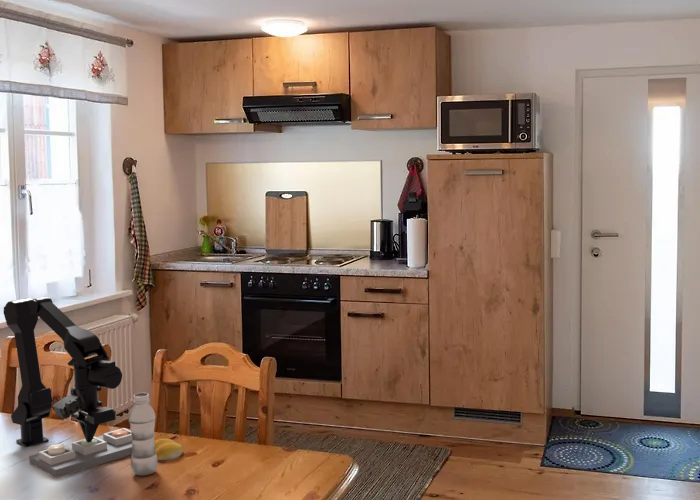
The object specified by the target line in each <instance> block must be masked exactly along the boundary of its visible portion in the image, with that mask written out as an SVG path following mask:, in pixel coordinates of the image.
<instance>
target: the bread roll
mask: <svg viewBox="0 0 700 500" xmlns="http://www.w3.org/2000/svg"><path fill="white" fill-rule="evenodd" d="M154 444H155V452H156V455H157V460H158V461H170V460H176V459H177V458H179V457H180V456H181V455H182V454H183V451H184V450H183V446H182V445H181V443H179V442H178V443H177V442H176V441H174V440H173V439H170V438H160V439H156V440H154Z"/></svg>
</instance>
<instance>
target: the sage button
mask: <svg viewBox="0 0 700 500" xmlns="http://www.w3.org/2000/svg"><path fill="white" fill-rule="evenodd" d="M82 440H83V439H82ZM94 444H97V440H96V439H92V441H91V442H87V441H86V440H83V441H82V442H81V445H82V446H84V447H87V446H91V445H94Z"/></svg>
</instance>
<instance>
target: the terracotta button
mask: <svg viewBox="0 0 700 500" xmlns="http://www.w3.org/2000/svg"><path fill="white" fill-rule="evenodd" d="M114 431H115V430H114ZM125 435H128V432H127V431H124V430H120V431H115V432H113V433H112V436H113V437H115V438H119V437H122V436H125Z"/></svg>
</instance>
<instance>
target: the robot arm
mask: <svg viewBox="0 0 700 500" xmlns="http://www.w3.org/2000/svg"><path fill="white" fill-rule="evenodd" d="M3 317H4V319H5V322H6V325H7V327H8V328H9V329H10V330H11V331H12V333H13V334H14V340H15V347H16V351H17V352H16V354H17V358H18V360H17V361H18V365H19V372H20V379H21V388H20V390H19V393H18V395H17V406H16V408H15V409H14V411H13V412H12V413H11V414H10V418H11V421H12V424H16V425H20V427H19V428H20V438H18V439H16V440H15V442H16V443H18V444H20V445H22V446H24V447H25V448H27V447H31V446H32V447H33V446H35V445H39V444H42V443H47V442H49V441H50V440H49V438H47V437H46V436H44V427H43V425H44V424H43V419H46V418H49V417H50V416H51V415H50V414H51V410H52V408H53V410H54V412H55V415H56V416H57V417H59V418H62V420H66V419H68V418H70V417H71V418H72V419H75V420H76V421H77V422H78V423H79V425H80V429H81V431H82V433H83V436H84V439H86V441H87V442H91V441H92V439H93V437H95V434H96V432H97V430H98V427H99V426H100V424H101V425H102V424H105V423H108V422H112V421H116V419H117V412H116V410H115V409H113V408H111V407H108V406H103V401H100V400H99V391H102V388H105V389H110V390H114V389H116V388H118V387H119V385H120V384H121V383H122V381H123V380H122V379H123V373H122V370H121V369H120V368H119V367H118V366H116V361H114V360H109V359H110V358H109V356H108V353H107V351H106V350H105V348H104V347H103V344H102V343H101V339H99V337H98V336H97V335H96V334H95V333H93V332H92V331H91V330H88V329H86V328H83V327H80V326H78V325H77V324H75V323H74V322H73V321H72V320H71V319H70V318H69V316H67V315H66V314H65V313H64V312H63V311H62V310H61V309H60V308H59V307H58V306H56V304H54V302H53V301H52V298H51V297H49V296H48V297H47V296H41V297H36V298H31V297H26V298H21V299H16V300H11V301H8V302H7V303H6V304H5V306H4V307H3ZM39 318H40V319H41V320H42V322H44V323H45V324H46V325H47V326H48V327H49V328H50V330H52V332H54V333H55V334H56V335H57V337H59V338H60V339H61V340H62V341H63V348H64V350H65V351H66V352H67V353H68V355H69V356H70V358H72V359H70V360H69V361H68V362H67V365H68V366H69V367H70V366H71V367H73V378H74V379H73V380H74V386H72V387H71V388H70V394H69V395H67V396H65V397H63V398H61V399H60V400H59V401H57V402H55V403H54V400H53V397H52V389H51V388H50V387H46V385H45V384H44V383H43V382H42V377H41V376H42V375H41V369H40V363H39V357H38V351H37V350H38V349H37V342H36V336H35V329H36V327H37V324H38V321H39ZM53 403H54V404H53Z"/></svg>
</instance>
